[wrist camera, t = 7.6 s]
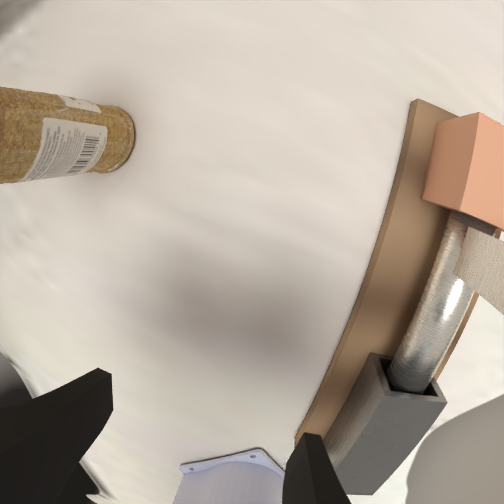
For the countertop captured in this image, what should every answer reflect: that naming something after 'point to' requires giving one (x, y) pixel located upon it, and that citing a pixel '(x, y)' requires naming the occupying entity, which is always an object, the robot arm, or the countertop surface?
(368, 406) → the sleeve
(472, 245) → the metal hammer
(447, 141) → the socket
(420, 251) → the walnut board
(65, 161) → the sprinkles bottle
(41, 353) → the countertop surface
